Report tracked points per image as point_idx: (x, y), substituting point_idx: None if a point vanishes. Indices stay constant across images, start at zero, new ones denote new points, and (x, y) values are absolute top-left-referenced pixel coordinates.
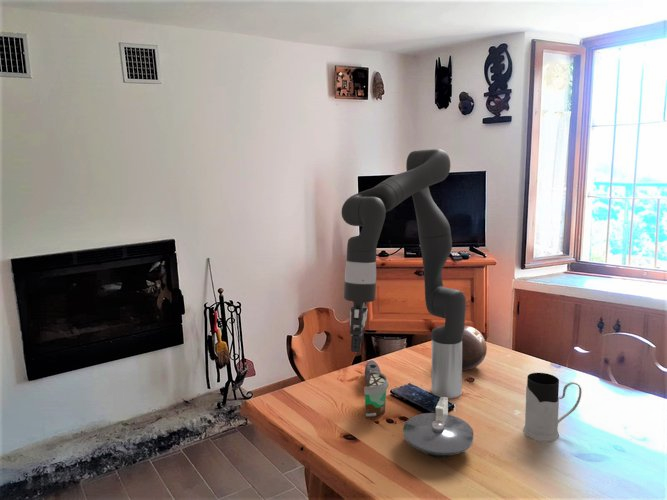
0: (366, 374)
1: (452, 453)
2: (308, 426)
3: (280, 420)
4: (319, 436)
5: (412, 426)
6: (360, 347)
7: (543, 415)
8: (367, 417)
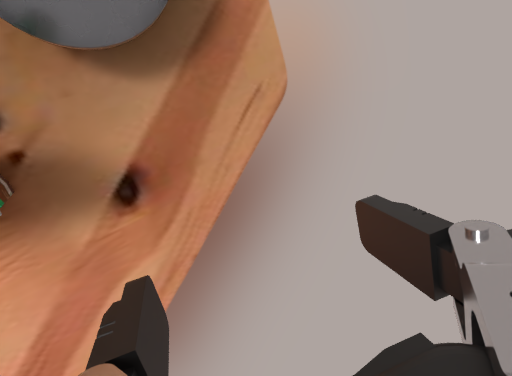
0: None
1: None
2: None
3: None
4: (154, 248)
5: (84, 18)
6: (388, 200)
7: None
8: (10, 188)
